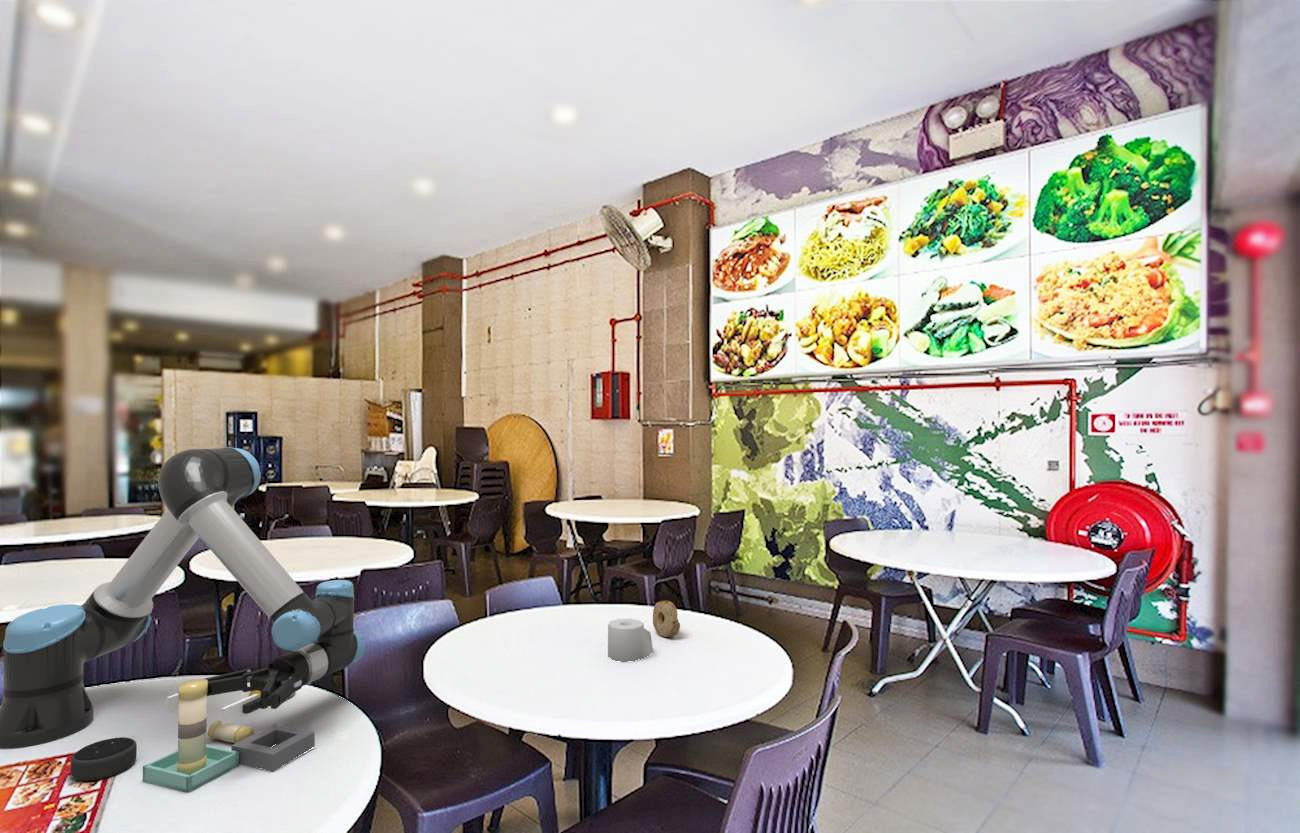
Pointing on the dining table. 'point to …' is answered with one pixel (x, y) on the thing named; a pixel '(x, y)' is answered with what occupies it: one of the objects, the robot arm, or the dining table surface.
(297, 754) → the socket block
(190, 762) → the fuse
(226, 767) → the parts tray
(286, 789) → the dining table surface
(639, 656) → the toilet tissue
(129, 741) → the smart speaker
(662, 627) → the stone disc
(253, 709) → the robot arm
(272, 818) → the dining table surface
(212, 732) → the fuse
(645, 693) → the dining table surface
